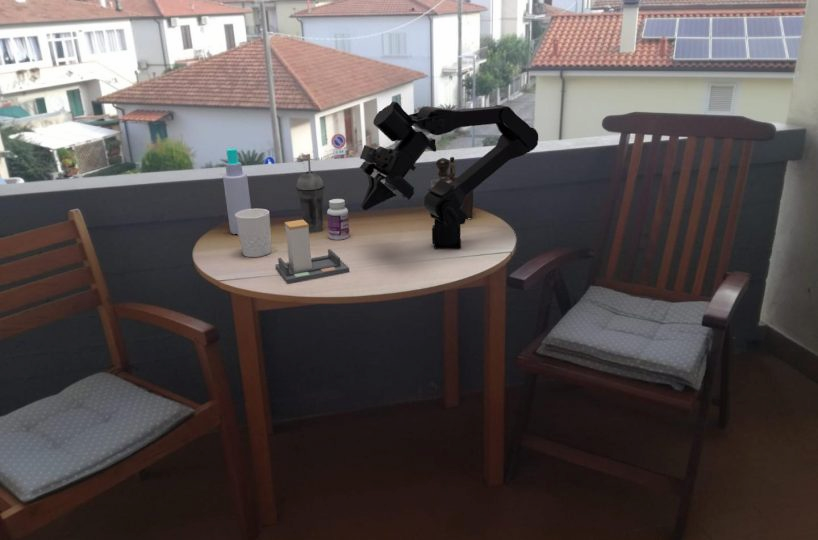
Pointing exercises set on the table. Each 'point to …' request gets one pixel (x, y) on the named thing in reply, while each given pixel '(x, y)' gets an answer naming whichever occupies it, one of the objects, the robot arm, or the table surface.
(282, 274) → the switch board
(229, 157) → the spray bottle
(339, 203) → the pill bottle
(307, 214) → the beverage cup
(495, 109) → the robot arm
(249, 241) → the white cup
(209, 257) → the table surface
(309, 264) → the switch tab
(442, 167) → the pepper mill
